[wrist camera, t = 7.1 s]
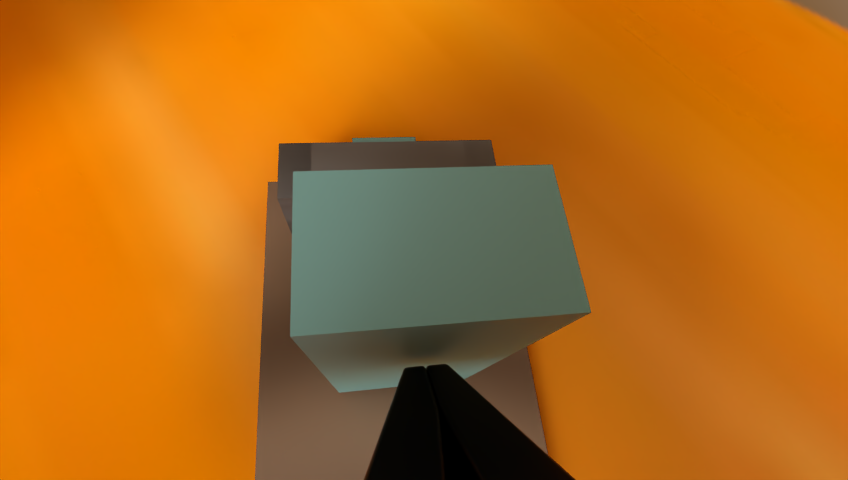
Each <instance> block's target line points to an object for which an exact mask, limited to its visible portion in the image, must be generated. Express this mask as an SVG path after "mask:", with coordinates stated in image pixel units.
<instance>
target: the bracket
mask: <svg viewBox="0 0 848 480" xmlns="http://www.w3.org/2000/svg"><path fill="white" fill-rule="evenodd" d="M481 166H496V162H495V158H494V153H493V148H492V143H491V140H459V141H402V142H344V143H287V144H279V161H278V182H268V199H267V222H266V245H265V267H264V290H263V313H262V335H261V358H260V381H259V403H258V426H257V449H256V472H255V480H364V477H365V475H366V472H367V469H368V466H369V464H370V461H371V458H372V455H373V452H374V450H375V447H376V444H377V441H378V439H379V436H380V433H381V430H382V427H383V425H384V422H385V419H386V416H387V414H388V411H389V408H390V405H391V403H392V400H393V397H394V394H395V391H396V389H397V387H390V388H380V389H371V390H361V391H351V392H341V393H339V392H338V391H337V390H336V389H335V387H334V386H333V385H332V384H331V383H330V382H329V381H328V379H327V378H326V377H325V376H324V375H323V374H322V373H321V371H320V370H319V369H318V368H317V367H316V366H315V365H314V363H313V362H312V361H311V360H310V359H309V358H308V357H307V355H306V354H305V353H304V352H303V351H302V350H301V349H300V347H299V346H298V345H297V344H296V343H295V342H294V341H293V339H292V338H291V337H290V315H291V259H292V203H293V172H294V171H331V170H369V169H406V168H444V167H481ZM464 380H466V381H467V382H468V383H469V384H470V385H471V386H472V387H473V388H474V389H475V390H477V391H478V392H479V393H480V394H481V395H482V396H483V397H484V398H485V399H487V400H488V401H489V402H490V403H491V404H492V405H493V406H494V407H495V408H497V409H498V410H499V411H500V412H501V413H502V414H503V415H504V416H505V417H507V418H508V419H509V420H510V421H511V422H512V423H513V424H514V425H515V426H517V427H518V428H519V429H520V430H521V431H522V432H523V433H524V434H525V435H526V436H528V437H529V438H530V439H531V440H532V441H533V442H534V443H535V444H536V445H538V446H539V447H540V448H541V449H542V450H543V451H544V452H545V453H546V454H548V452H547V447H546V442H545V437H544V432H543V427H542V422H541V417H540V412H539V407H538V401H537V396H536V391H535V386H534V381H533V376H532V371H531V366H530V361H529V356H528V351H527V347H525V348H523V349H521V350H519V351H517V352H515V353H513V354H511V355H510V356H508V357H506V358H504V359H502V360H500V361H498V362H496V363H494V364H493V365H491V366H489V367H487V368H485V369H483V370H481V371H479V372H477V373H475V374H474V375H472V376H470V377H468V378H466V379H464Z"/></svg>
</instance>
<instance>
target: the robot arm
mask: <svg viewBox="0 0 848 480" xmlns="http://www.w3.org/2000/svg"><path fill="white" fill-rule="evenodd" d="M364 480H575V479H574V478H573V477H572V476H571V475H570V474H569V473H568V472H566V471H565V470H564V469H563V468H562V467H561V466H560V465H559V464H558V463H556V462H555V461H554V460H553V459H552V458H551V457H550V456H549V455H548V454H546V453H545V452H544V451H543V450H542V449H541V448H540V447H539V446H538V445H536V444H535V443H534V442H533V441H532V440H531V439H530V438H529V437H528V436H526V435H525V434H524V433H523V432H522V431H521V430H520V429H519V428H518V427H517V426H515V425H514V424H513V423H512V422H511V421H510V420H509V419H508V418H507V417H505V416H504V415H503V414H502V413H501V412H500V411H499V410H498V409H497V408H495V407H494V406H493V405H492V404H491V403H490V402H489V401H488V400H487V399H485V398H484V397H483V396H482V395H481V394H480V393H479V392H478V391H477V390H475V389H474V388H473V387H472V386H471V385H470V384H469V383H468V382H467V381H466V380H464V379H463V378H462V377H461V376H460V375H459V374H458V373H457V372H456V371H454V370H453V369H452V368H451V367H450V366H449V365H447V364H436V365H428V366H427V367H426V368H425V367H424V366H415V367H406V368H404V370H403V372H402V375H401V378H400V380H399V383H398V386H397V389H396V391H395V394H394V397H393V400H392V403H391V405H390V408H389V411H388V414H387V416H386V419H385V422H384V425H383V427H382V430H381V433H380V436H379V439H378V441H377V444H376V447H375V450H374V452H373V455H372V458H371V461H370V464H369V466H368V469H367V472H366V475H365V477H364Z"/></svg>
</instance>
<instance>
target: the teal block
mask: <svg viewBox="0 0 848 480" xmlns="http://www.w3.org/2000/svg"><path fill="white" fill-rule="evenodd" d="M352 139H353V142H402V141H416V140H415V137H392V138H352ZM589 313H591V310H590V306H589V302H588V298H587V295H586V291H585V287H584V283H583V279H582V276H581V272H580V268H579V264H578V260H577V257H576V253H575V249H574V245H573V241H572V237H571V234H570V230H569V226H568V222H567V218H566V215H565V211H564V207H563V203H562V199H561V196H560V192H559V188H558V184H557V180H556V177H555V173H554V169H553V165H519V166H481V167H444V168H406V169H369V170H331V171H294V172H293V203H292V259H291V315H290V337H291V338H292V339H293V341H294V342H295V343H296V344H297V345H298V346H299V347H300V349H301V350H302V351H303V352H304V353H305V354H306V355H307V357H308V358H309V359H310V360H311V361H312V362H313V363H314V365H315V366H316V367H317V368H318V369H319V370H320V371H321V373H322V374H323V375H324V376H325V377H326V378H327V379H328V381H329V382H330V383H331V384H332V385H333V386H334V387H335V389H336V390H337V391H338V392H339V393H341V392H351V391H361V390H371V389H380V388H390V387H397V386H398V383H399V380H400V378H401V375H402V372H403V370H404V368H406V367H415V366H424V367H425V368H426V367H427V366H428V365H436V364H447V365H449V366H450V367H451V368H452V369H453V370H454V371H456V372H457V373H458V374H459V375H460V376H461V377H462V378H463V379H466V378H468V377H470V376H472V375H474V374H475V373H477V372H479V371H481V370H483V369H485V368H487V367H489V366H491V365H493V364H494V363H496V362H498V361H500V360H502V359H504V358H506V357H508V356H510V355H511V354H513V353H515V352H517V351H519V350H521V349H523V348H525V347H527V346H528V345H530V344H532V343H534V342H536V341H538V340H540V339H542V338H544V337H545V336H547V335H549V334H551V333H553V332H555V331H557V330H559V329H561V328H562V327H564V326H566V325H568V324H570V323H572V322H574V321H576V320H578V319H580V318H581V317H583V316H585V315H587V314H589Z"/></svg>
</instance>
